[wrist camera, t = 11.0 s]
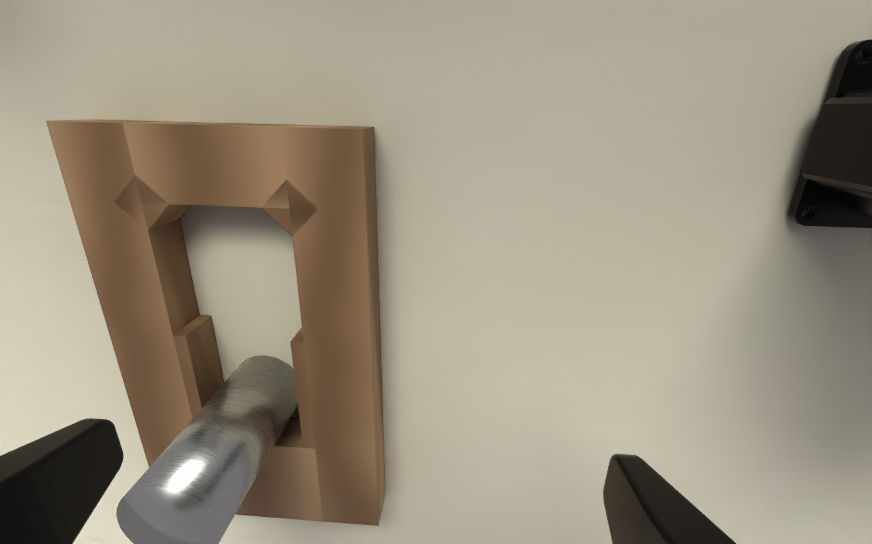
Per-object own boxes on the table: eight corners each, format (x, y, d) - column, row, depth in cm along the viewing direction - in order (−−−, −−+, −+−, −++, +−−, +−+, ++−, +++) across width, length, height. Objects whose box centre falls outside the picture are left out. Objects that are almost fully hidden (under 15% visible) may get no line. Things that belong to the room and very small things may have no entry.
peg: (299, 358, 21) (208, 492, 14) (305, 415, 23) (226, 565, 15) (230, 353, 21) (104, 483, 14) (240, 411, 23) (131, 557, 15)
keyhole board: (373, 127, 17) (362, 129, 15) (384, 493, 24) (378, 525, 22) (90, 119, 18) (46, 120, 16) (184, 478, 25) (161, 508, 23)
